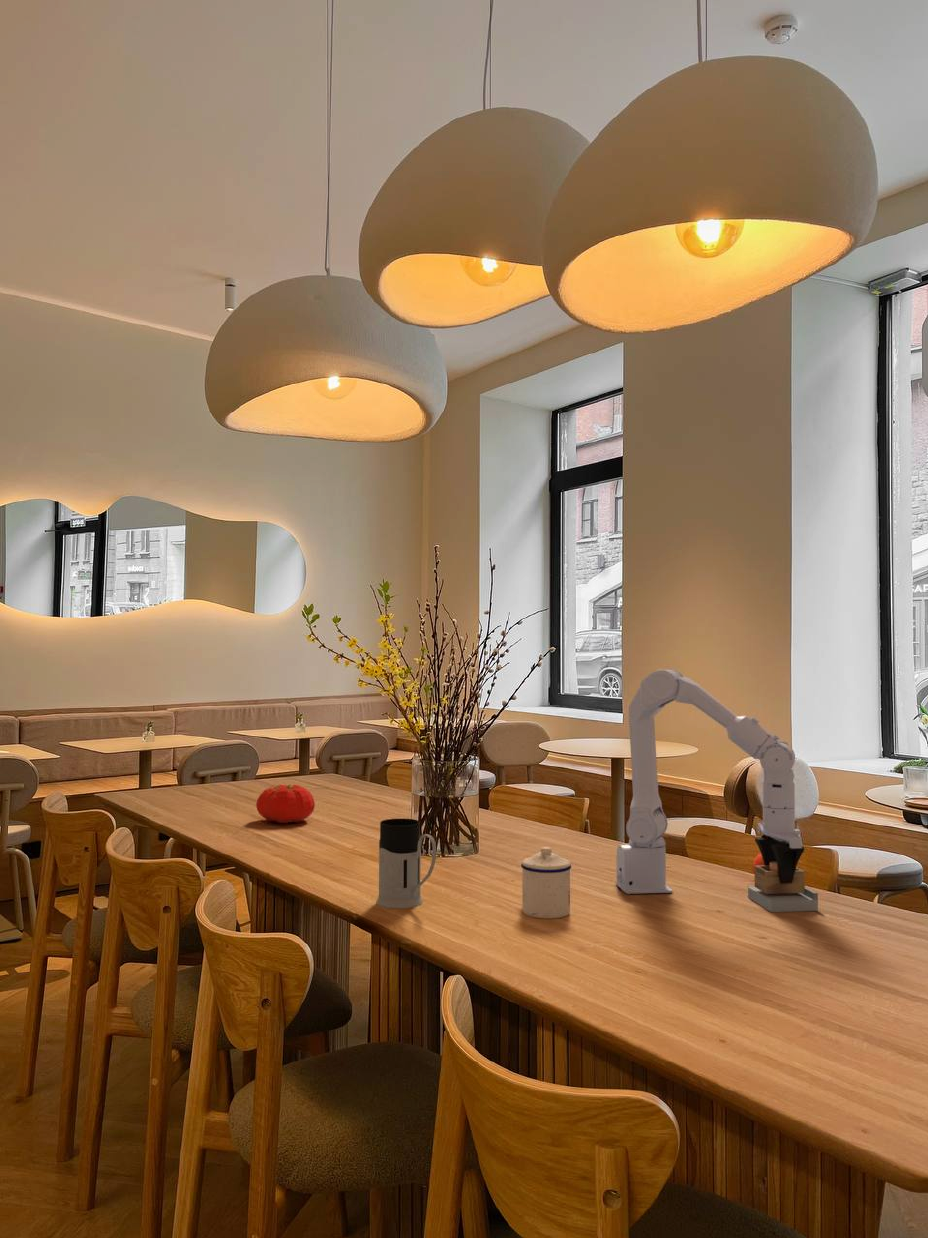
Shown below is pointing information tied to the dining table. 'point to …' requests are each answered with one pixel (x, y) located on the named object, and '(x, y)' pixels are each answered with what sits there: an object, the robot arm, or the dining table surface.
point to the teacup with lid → (546, 885)
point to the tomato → (285, 803)
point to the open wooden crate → (778, 881)
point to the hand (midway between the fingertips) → (779, 879)
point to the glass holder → (401, 863)
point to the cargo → (773, 866)
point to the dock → (785, 900)
